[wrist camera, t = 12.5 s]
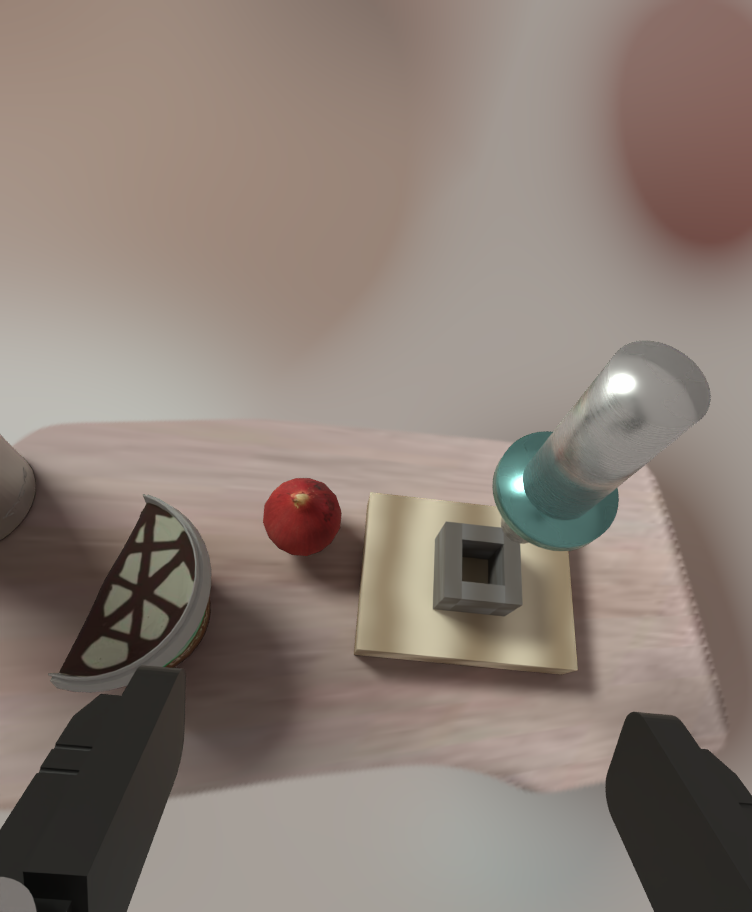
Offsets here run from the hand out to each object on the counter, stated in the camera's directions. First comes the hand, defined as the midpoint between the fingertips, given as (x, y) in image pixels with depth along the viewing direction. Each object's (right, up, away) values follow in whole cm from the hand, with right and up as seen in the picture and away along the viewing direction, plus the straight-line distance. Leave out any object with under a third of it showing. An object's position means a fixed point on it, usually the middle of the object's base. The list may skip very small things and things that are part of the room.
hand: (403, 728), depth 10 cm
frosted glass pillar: (+8, +1, +23) cm, 24 cm away
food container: (-15, -8, +32) cm, 37 cm away
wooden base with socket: (+6, -6, +36) cm, 37 cm away
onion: (-6, -1, +37) cm, 37 cm away
